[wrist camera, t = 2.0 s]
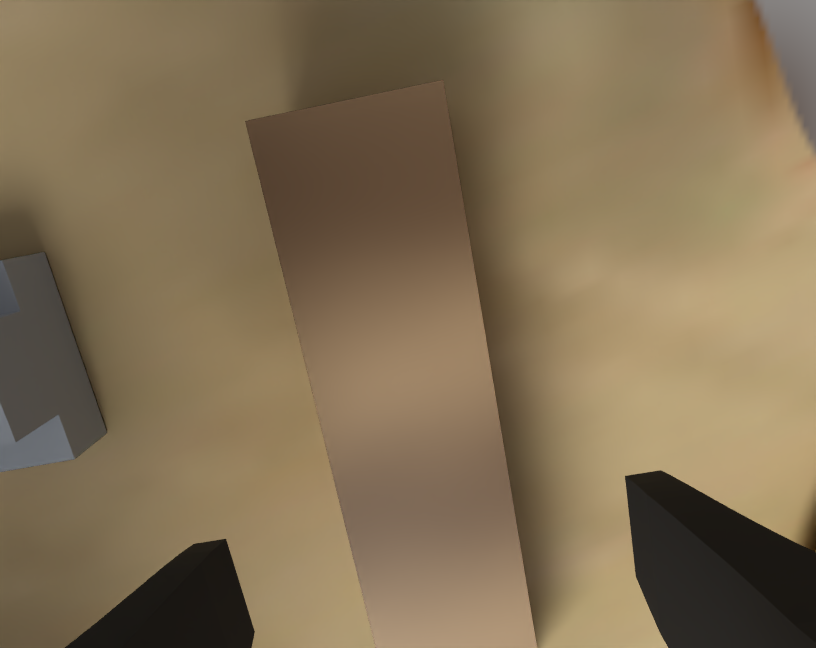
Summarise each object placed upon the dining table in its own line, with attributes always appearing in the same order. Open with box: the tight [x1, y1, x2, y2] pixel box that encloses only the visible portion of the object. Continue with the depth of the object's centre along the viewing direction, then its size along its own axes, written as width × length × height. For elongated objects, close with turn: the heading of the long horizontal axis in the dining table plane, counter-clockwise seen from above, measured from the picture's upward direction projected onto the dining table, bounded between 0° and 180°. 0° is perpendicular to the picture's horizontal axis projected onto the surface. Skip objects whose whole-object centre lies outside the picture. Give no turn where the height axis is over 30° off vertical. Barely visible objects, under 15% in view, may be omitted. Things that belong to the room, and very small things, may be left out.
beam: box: [245, 80, 537, 648], centre depth 14 cm, size 16×4×4 cm, turn 11°
